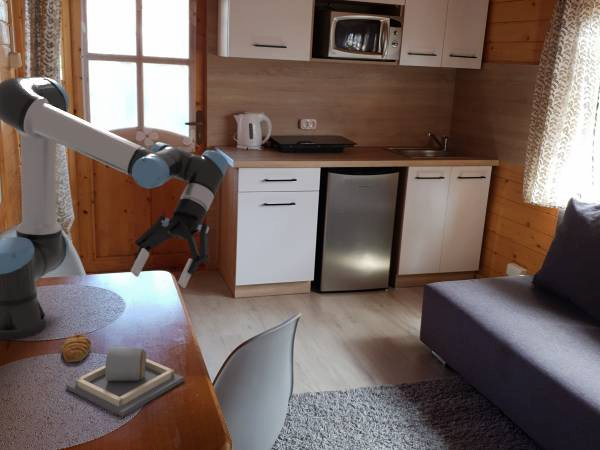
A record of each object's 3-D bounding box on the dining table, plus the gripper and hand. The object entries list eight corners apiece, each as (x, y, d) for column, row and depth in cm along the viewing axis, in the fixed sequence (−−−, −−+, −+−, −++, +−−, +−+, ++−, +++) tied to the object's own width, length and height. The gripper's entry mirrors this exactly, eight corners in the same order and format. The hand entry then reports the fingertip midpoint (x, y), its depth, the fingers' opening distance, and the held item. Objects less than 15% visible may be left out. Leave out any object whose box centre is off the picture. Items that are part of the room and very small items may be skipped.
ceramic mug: (143, 386, 133) (143, 354, 131) (105, 387, 131) (103, 355, 129) (148, 364, 143) (148, 334, 141) (112, 364, 141) (111, 334, 140)
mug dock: (66, 388, 132) (65, 378, 132) (129, 357, 147) (129, 348, 146) (122, 416, 123) (121, 406, 122) (183, 380, 138) (183, 371, 137)
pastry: (89, 363, 144) (88, 348, 143) (59, 365, 142) (58, 351, 141) (91, 345, 153) (91, 331, 152) (63, 347, 151) (62, 333, 150)
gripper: (241, 221, 150) (208, 297, 141) (159, 206, 159) (122, 276, 150) (231, 204, 144) (195, 283, 135) (146, 190, 153) (107, 262, 144)
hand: (157, 279), depth 142 cm, fingers open, 13 cm apart
